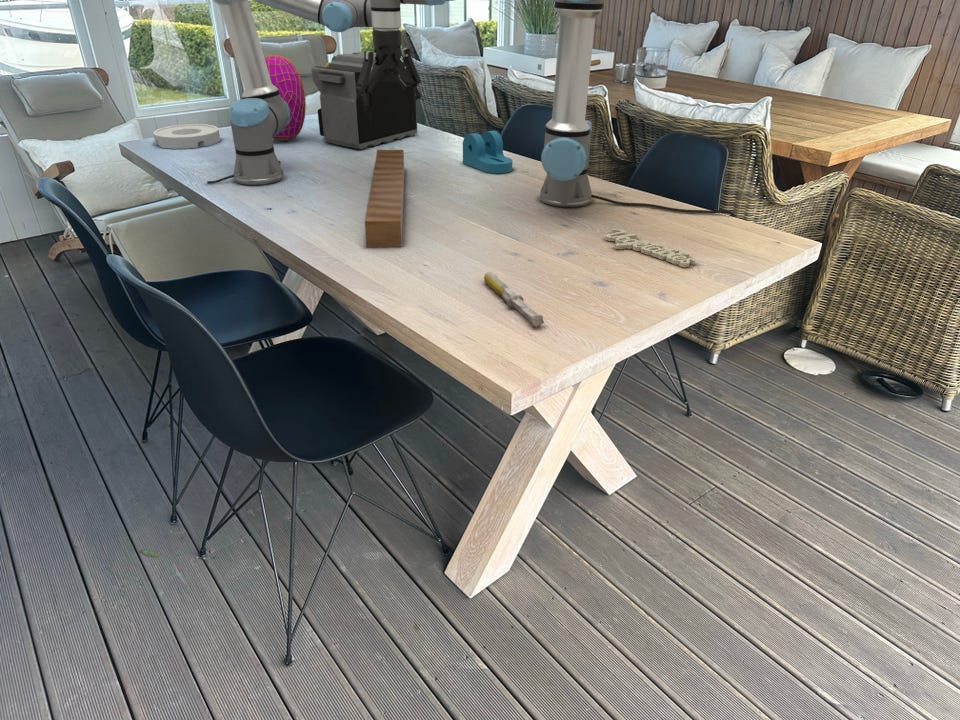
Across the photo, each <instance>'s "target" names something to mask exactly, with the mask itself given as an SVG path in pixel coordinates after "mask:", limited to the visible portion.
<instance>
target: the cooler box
mask: <svg viewBox="0 0 960 720" xmlns="http://www.w3.org/2000/svg"><path fill="white" fill-rule="evenodd" d="M364 52H365V51H356V52H352V53H341V54H336V55H335V56H336V58H335V60H334V61H332V62H331V61H330V62H328V63H329V68H326V66H325V67H324V66H312V67H311V77H312V83H314V85H315V87H316V89H317V90H318V92H319V101H320V108H319V109H317V119H318V120H317V121H318V128H319V136H321V137H323V139H324V142H325V143H328V144H332V145H336V146H337V145H338V146H342V147H347V148H351V149H356V150H365V149H367V148H368V147H370V146H371V147H376V146H379V145H380V144H381V143H384V144H387V143H391V142H393V141H394V140H401V139H402V140H403V139H404V138H405V137H414V136H415V135H416V134H417V133H418V108H417V107H418V103H417V101H416V111H414V112H413V123H410V112H407V111H406V107H405V91H404V90H403V88H402V87H401V86H400V85H399V84H398V83H397V82H396V81H394V82H382V81H381V80H380V81H379V83H378V84H377V85H376V86H375V88H374V89H373V91H372V92H371V93H374V106H375V119H371V121H370V123H367V113H366V111H364V110H363V102H362V100H361V99H359V98H357V97H356V95H357V92H358V90H357V89H356V86H357V82H358V79H359V76H360V72H361V69H362V65H363V62H364ZM374 63H375V60H373V64H374ZM402 63H403V64H404V67H406V66H405V63H404V61H402ZM372 67H373V66H372ZM399 77H400V78H401V79H402V81H403V82H404V83H405V81H404V80H403V78H402V77H401V76H400V74H399ZM405 84H406V83H405ZM406 86H408V85H407V84H406ZM362 95H363V92H362ZM415 95H416V93H415Z"/></svg>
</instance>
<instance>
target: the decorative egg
mask: <svg viewBox="0 0 960 720" xmlns="http://www.w3.org/2000/svg"><path fill="white" fill-rule="evenodd" d="M264 58H265V62H266V65H267V69H268V72H269V76H270V79H271V83H272V84H273V85H274V86H275V87H277V88H278V90H279V94H280V97H281V98H282V99H283V100H284V101H285V102H286V104H287V105H288V108H289V111H290V119H289V122H288V124H287V126H286V127H285V129H284V130H283V131H282V132H280V133H279V134H276V135H274V136H273V137H272V138H273V140H275V141H282V142H286V141H291V140H293V139H296V138H297V137H298V136H299V134H301V131H302V129H303V127H304V123H305V118H306V104H307V103H306V102H307V101H306V99H307V97H306V93H305V88H304V84H303V81H302V77H301V75H300V73H299V71H298V69H297V67H296V66H295V65H294V63H293V62H292V61H291V60H290V59H288V58H287V57H285V56H282V55H280V54H268V55H264Z"/></svg>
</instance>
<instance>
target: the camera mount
mask: <svg viewBox="0 0 960 720" xmlns="http://www.w3.org/2000/svg"><path fill="white" fill-rule="evenodd" d="M462 164H463V165H467V166H469V167H472V168H473V169H477V170H479V171H482V172H483V173H487V174H505V173H510V172H512V171H513V159H512V158H510V157H508V156H505V155H504V142H503V138H502V135H501V134H500V132H499V131H497V130H488V131H485V132H483V133H482V134H480V133H477V132H474V133H468V134H466V135H465V136H464V137H463V140H462Z"/></svg>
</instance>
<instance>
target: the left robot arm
mask: <svg viewBox="0 0 960 720" xmlns="http://www.w3.org/2000/svg"><path fill="white" fill-rule="evenodd" d="M212 1H213V2H214V3H215V4H217V5H218V6H219V9H220V12H221V15H222V19H223V22H224V25H225V29H226V32H227V36H228V38H229V42H230V45H231V48H232V51H233V54H234V58H235V62H236V64H237V68H238V72H239V75H240V78H241V81H242V85H243V89H244V90H243V92H242V94H241V98H242V99H237V100H235V101H233V102H231V104H230V105H229V107H228V113H229V114H228V118H229V122H230V128H231V134H232V139H233V145H234V149H235V150H234V152H235V160H234V168H233V174H231V175H228V176H224V177H222V178H219V179H216V180H207V181H206V183H207V185H210V184H211V185H212V184H217V183H220V182H223V181H226V180H230V179H232V178H233V180H234V182H235V183H237V184H238V185H243V186H264V185H271V184H276V183H279V182H280V181H282V180H283V179H284V178H285V175H284V170H283V168H282V163H281V161H280V160H278V157H277V155H276V153H275V146H274V139H273V138H272V137H273V136H274V135H276V134H279V133H280V132H282V131H283V130H284V129H285V127H286V126H287V124H288V122H289V119H290V111H289V108H288V105H287V104H286V102H285V101H284V100H283V99H282V98H281V97H280V94H279V90H278V88H277V87H275V86H274V85H273V84H272V83H271V79H270V76H269V72H268V69H267V65H266V62H265V58H264V57H265V55H264V52H263V47H262V44H261V41H260V38H259V34H258V29H257V27H256V23H255V20H254V17H253V13H252V10H251V5H250V2H249V0H212ZM251 1H252V2H255V3H257V4H260V5H264V6H266V7H270V8H274V9H275V10H278V11H281V12H285V13H287V14H290V15H293V16H295V17H299V18H301V19H305V20H307V21H311V22H313V23H315V24H319V25H321V26H324V27H326V28H327V29H328V30H329V31H331V32H334V33H343V32H346V31H347V30H350V29H353V28H372V31H373V30H375V29H374V28H373V27H372V19H371V1H370V0H251ZM375 61H376V59H375ZM372 69H373V67H372ZM372 69H371V71H372ZM405 69H406V70H407V68H406V67H405ZM380 80H381V81H382V82H394V81H396V82H397V83H398V84H399V85H400V86H401V87H402V88H403V90H404V91H405V87H406V84H405V83H404V82H403V81H402V79H401V78H400V77H399V73H398V71H397V70H396V69H395V68H389V69H384V70H383V71H382V72H381V74H380V76H379V78H378V80H377V81H376V83H375V85H374V87H373V89H374V88H375V86H376V85H377V84H378V83H379V81H380ZM373 89H372V91H373ZM372 91H371V92H372ZM415 93H416V95H415V99H414V111H416V102H417V100H418V99H419V100H420V99H421V98H422V93H421V91H420V89H419V87H418V86H417V87H415ZM356 97H357V98H359V99H361V100H362V102H363V110H364V111H366V106H365V105H364V98H363V95H362V92H361V91H359V90H358V92H357V95H356ZM370 121H371V119H370V118H367V123H370ZM410 123H413V113H411V112H410Z"/></svg>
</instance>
